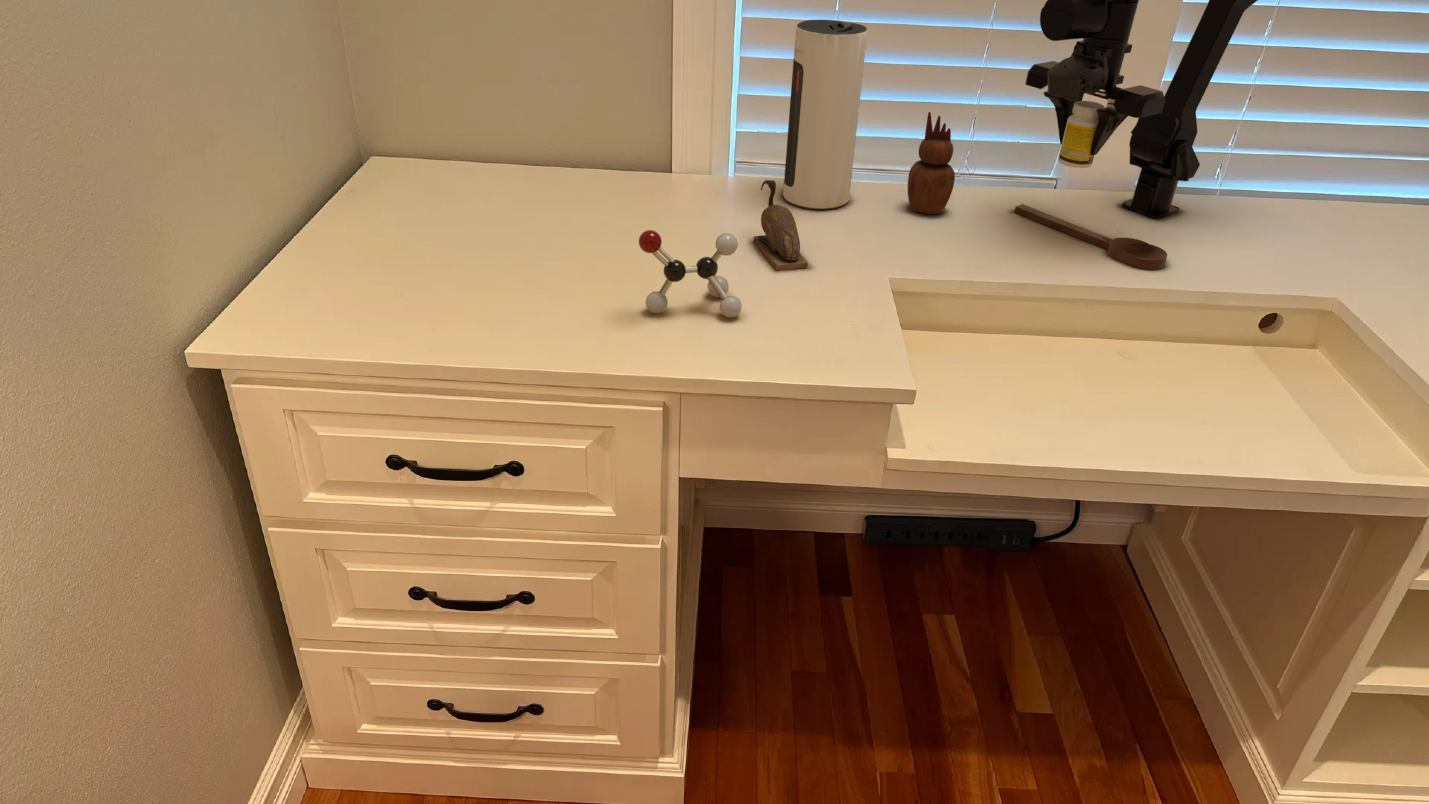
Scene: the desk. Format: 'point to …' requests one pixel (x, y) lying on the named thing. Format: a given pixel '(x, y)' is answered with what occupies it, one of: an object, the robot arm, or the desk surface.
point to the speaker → (823, 112)
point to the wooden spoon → (1104, 241)
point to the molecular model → (704, 269)
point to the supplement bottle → (1079, 135)
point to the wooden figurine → (932, 171)
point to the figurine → (779, 235)
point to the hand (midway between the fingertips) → (1078, 149)
